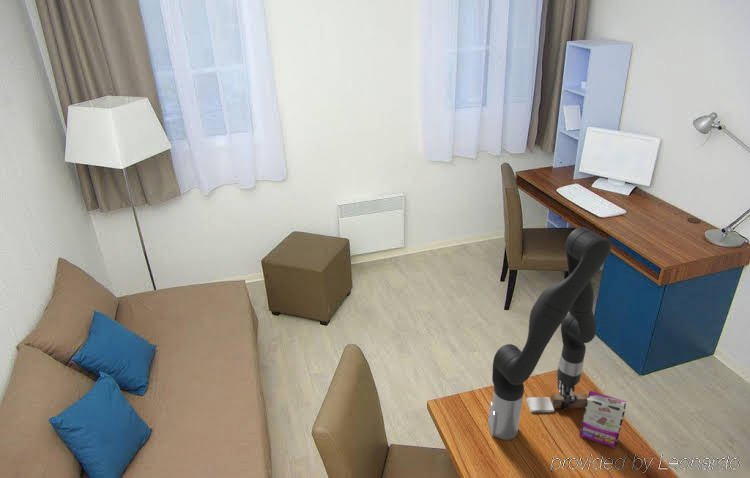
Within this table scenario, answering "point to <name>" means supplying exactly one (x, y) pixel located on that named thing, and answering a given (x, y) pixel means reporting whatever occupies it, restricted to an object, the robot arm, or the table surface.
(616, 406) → the candy bar box
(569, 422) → the table surface
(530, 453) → the table surface
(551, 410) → the turner
